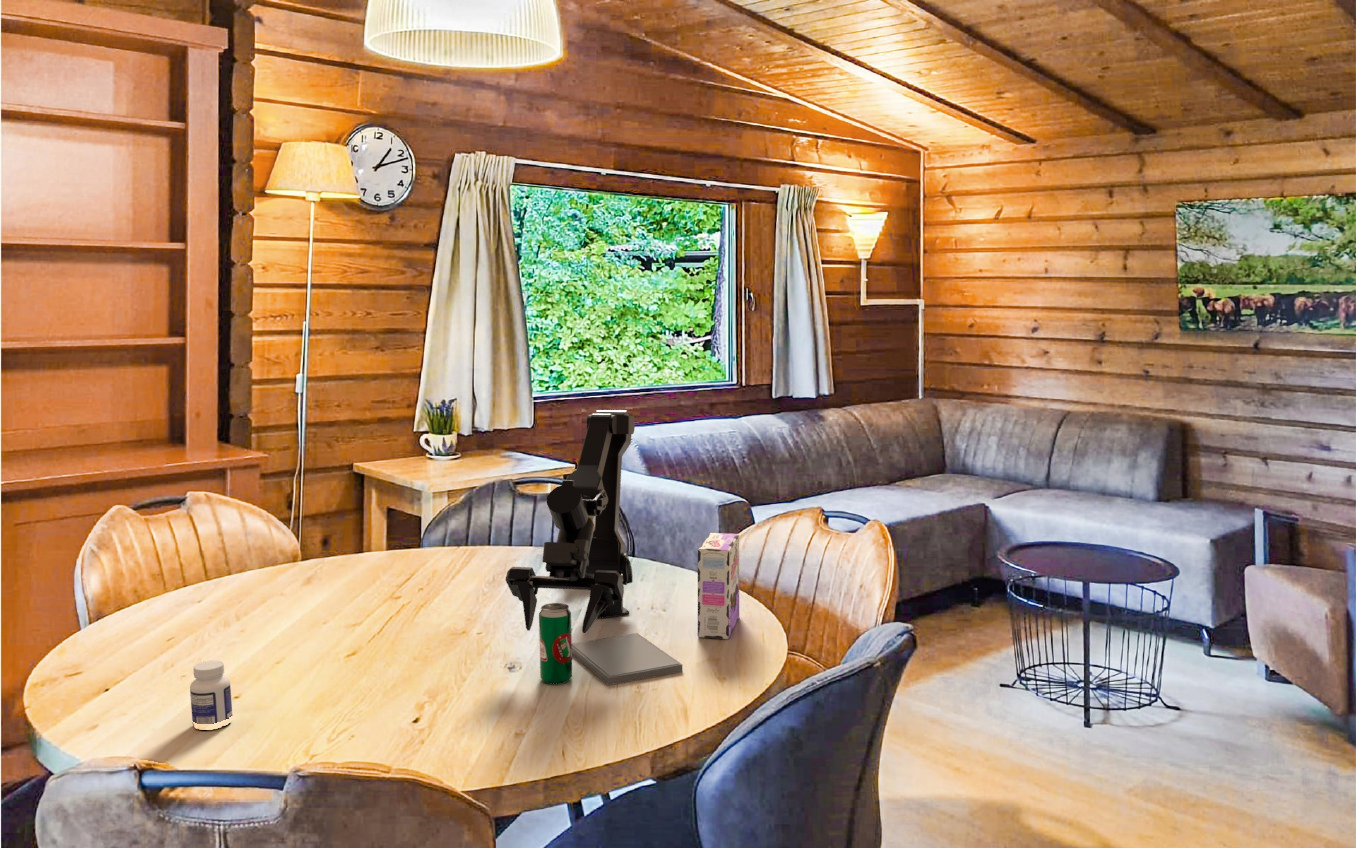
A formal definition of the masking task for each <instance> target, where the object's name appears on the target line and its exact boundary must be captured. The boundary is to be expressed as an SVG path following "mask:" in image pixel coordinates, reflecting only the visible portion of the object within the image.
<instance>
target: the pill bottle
mask: <svg viewBox="0 0 1356 848" xmlns="http://www.w3.org/2000/svg"><path fill="white" fill-rule="evenodd" d="M193 678H195V679H194V680H193V681H191V683H190V685H189V693H190V706H191V707H190V708H191V720H192V721H193V722H195V723H197V724H214V723H217V722H221V721H223V720H226V719H229V717H231V716H233V705H232V704H233V703H232V693H231V692H232V691H231V689H232V688H231V680H230V678H229V677H228V676H227V675H225V664H224V662H223V661H221V660H215V659H214V660H206V661H203V662H198V663H195V665H194V666H193ZM193 722H192V723H193Z"/></svg>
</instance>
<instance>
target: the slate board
mask: <svg viewBox="0 0 1356 848" xmlns="http://www.w3.org/2000/svg"><path fill="white" fill-rule="evenodd" d="M572 656H573V657H575V658H576V659H577V660H579V661H580V662H581V664H583V665H584V666H586V667H587V668H588V669H589V670H590V671H591V672H592V673H593V674H595V675H596V676H597V677H598V678H599V679H601V680H602V681H603V682H604V683H605V684H606V685H608V686H611V685H616V684H617V685H618V684H622V683H627V682H628V683H629V682H633V681H637V680H644V679H651V678H655V677H656V678H657V677H659V676H660V677H661V676H667V675H672V674H677V673H683V664H682V663H681V662H680V661H678V660H676V659H675V658H674V657H672V656H671V655H669V653H667V652H666V651H664V650H662V649H661V648H659V647H658V646H657V645H655V644H654V643H652V642H651V641H649V640H648V639H646V638H645V637H644V636H642V635H640V634H639V632H635V633H627V634H623V635H616V636H610V637H603V638H599V639H598V638H597V639H592V640H585V641H579V642H572Z"/></svg>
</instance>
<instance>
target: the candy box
mask: <svg viewBox="0 0 1356 848" xmlns="http://www.w3.org/2000/svg"><path fill="white" fill-rule="evenodd" d="M738 619H740V533H726V532H725V533H721V532H710V533H709V534H708V536H707V537H706V539H705V540H704V541H703V542H702V544H701V546H700V547H699V548H698V549H697V637H698V638H703V639H704V638H706V639H720V640H729V639H730V637H731V635H732V633H733V631H734V628H735V627H736V624H737V622H738Z"/></svg>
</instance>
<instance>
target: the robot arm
mask: <svg viewBox="0 0 1356 848" xmlns="http://www.w3.org/2000/svg"><path fill="white" fill-rule="evenodd" d="M635 423H636V421H635V416H634V415H630V412H629V410H623V409H622V410H621V409H619V410H618V409H617V410H616V409H614V410H613V409H612V410H611V409H610V410H609V409H608V410H607V409H603V410H602V409H597V410H595V413H591V414H587V415H586V433H585V437H584V441H583V443H582V444H583V445H582V448H581V452H580V455H579V459H578V463H577V466H576V469H575V470H574V471H572V472H571V473H570V474H568V475H567V477H566V479H562V481H561V485H559V486H557V487H555V488H553V489H552V490H551V491H550V492H549V494H548V495H547V496H546V505H547V508H548V510H549V513H550V516H551V518H552V521H553V523H554V526H555V528H556V529H558V534H557V539H556V541H545V542H544V543H543V551H542V552H543V553H542V560H541V561H542V563H543V564H544V563H546V564H545V568H544V569H545V571H546V572H549V575H548V576H545V575H537V574H536V572H535V571H534V568H533V567H529V566H527V567H526V566H512V567H510V568H509V569H508V570H507V572H506V576H505V583H506V585H507V586H508V589H509V590H510V593H511V594H512V596H513V597H516V598H518V600H519V601H520V602H522V608H523V613H524V615H523V616H524V624H525V629H526V631H528V632H529V631H531V629H532V626H533V622H534V617H535V613H536V608H537V604H538V598H537V595H538V591H539V589H553V590H555V589H556V590H575V591H589V599H588V602H587V607H586V610H585V613H584V617H583V621H582V628H581V629H582V630H581V631H582V634H587V632H588V631H589V629H590V628H591V627H592V625H593V624H594V622H595V621H596V620H597V619H604V618H605V619H606V618H611V617H612V618H614V617H619V616H625V615H630V610H628V609H626V608H625V607H624V593H625V586H627V585H628V584H632V583H633V581H634V580H633V577H634V576H633V568H632V565H631V560H630V559H629V554H628V553H627V552H626V551H627V549H626V548H627V545H626V544H625V541H624V540H623V537H622V535H621V534H620V532H619V525H620V524H619V523H620V522H619V521H620V504H621V480H622V464H623V463H622V460H623V456H624V454H625V453H626V451H627V450H628V448H629V447H630V445H631V443H632V435H633V434H634V433H635V429H636V426H635V425H636V424H635ZM588 516H594V518H595V519H594V520H593V521H595V530H594V523H593V521H592V520H591V519H590V518H589V517H588ZM593 530H594V532H593Z"/></svg>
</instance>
